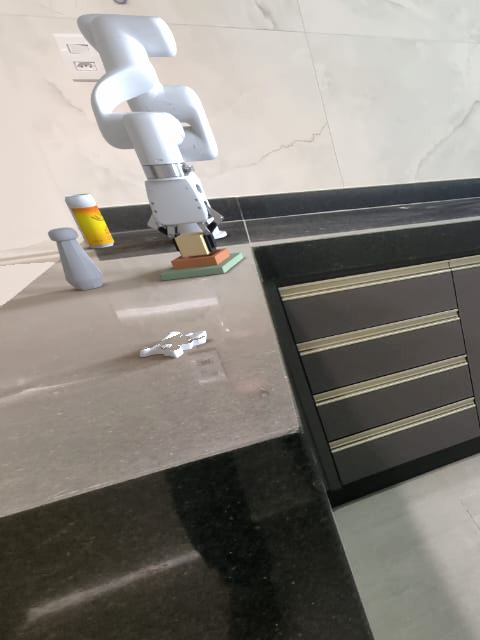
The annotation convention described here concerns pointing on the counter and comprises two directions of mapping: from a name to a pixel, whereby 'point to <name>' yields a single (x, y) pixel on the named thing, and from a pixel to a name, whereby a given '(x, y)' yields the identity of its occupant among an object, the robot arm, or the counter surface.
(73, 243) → the salt shaker
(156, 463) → the counter surface
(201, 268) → the base pad
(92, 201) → the beer can
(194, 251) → the tan block
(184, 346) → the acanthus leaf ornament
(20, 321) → the counter surface
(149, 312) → the counter surface
